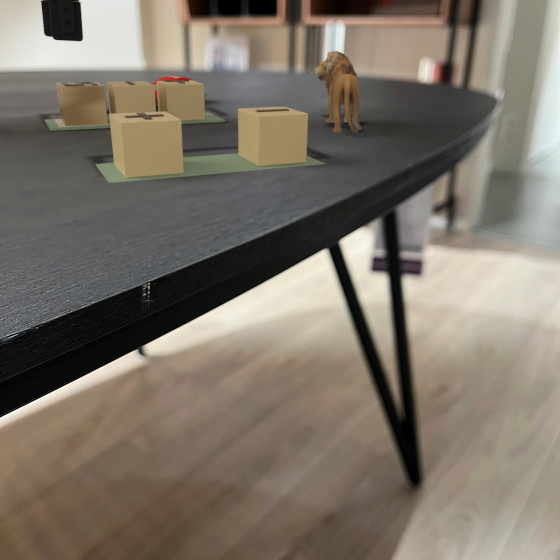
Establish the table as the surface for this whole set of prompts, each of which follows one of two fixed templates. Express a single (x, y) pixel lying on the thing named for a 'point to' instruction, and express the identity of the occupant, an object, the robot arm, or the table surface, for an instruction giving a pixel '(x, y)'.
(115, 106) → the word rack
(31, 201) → the table surface
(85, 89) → the small cardboard box
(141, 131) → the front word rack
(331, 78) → the lion figurine
